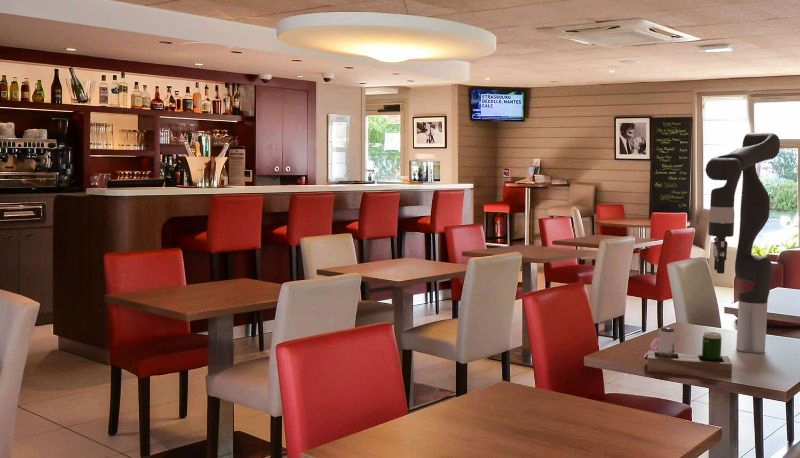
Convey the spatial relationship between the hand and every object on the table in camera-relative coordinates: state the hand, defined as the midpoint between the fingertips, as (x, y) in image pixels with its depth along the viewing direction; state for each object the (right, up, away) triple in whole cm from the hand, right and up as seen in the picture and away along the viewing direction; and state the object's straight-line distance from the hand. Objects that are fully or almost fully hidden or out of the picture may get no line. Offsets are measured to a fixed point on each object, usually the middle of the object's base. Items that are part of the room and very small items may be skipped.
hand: (719, 271), depth 262 cm
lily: (-17, -30, +10) cm, 35 cm away
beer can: (-7, -31, -10) cm, 33 cm away
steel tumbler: (-19, -30, -7) cm, 36 cm away
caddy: (-13, -31, -9) cm, 34 cm away
